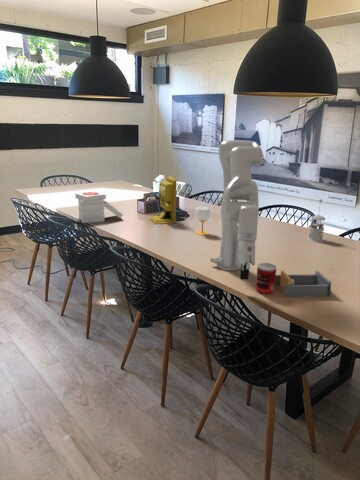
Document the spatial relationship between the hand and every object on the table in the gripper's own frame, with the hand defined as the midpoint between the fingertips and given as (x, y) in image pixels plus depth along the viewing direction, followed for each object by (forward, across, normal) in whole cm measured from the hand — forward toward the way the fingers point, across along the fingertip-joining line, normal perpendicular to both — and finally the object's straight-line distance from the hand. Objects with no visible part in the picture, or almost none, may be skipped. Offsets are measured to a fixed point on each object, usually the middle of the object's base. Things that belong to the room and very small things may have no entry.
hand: (244, 278), depth 162 cm
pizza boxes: (+2, +124, +72) cm, 143 cm away
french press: (+4, +73, -64) cm, 97 cm away
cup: (+3, +87, +4) cm, 88 cm away
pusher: (+6, +1, -19) cm, 20 cm away
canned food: (+6, +1, -10) cm, 11 cm away
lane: (+6, +1, -26) cm, 26 cm away
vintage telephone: (+3, +119, +28) cm, 123 cm away
